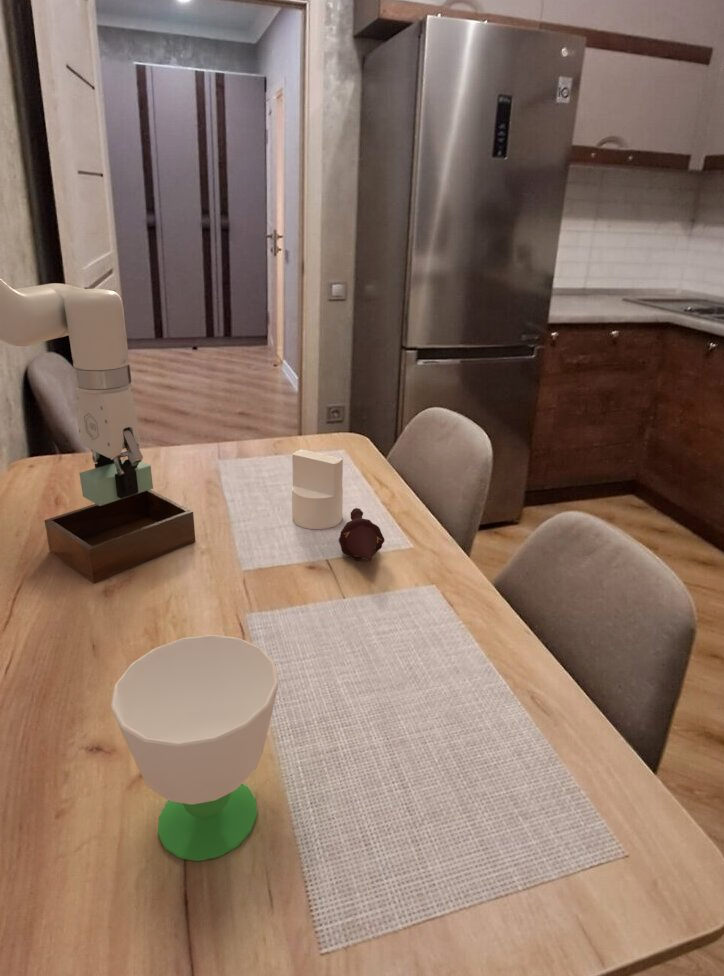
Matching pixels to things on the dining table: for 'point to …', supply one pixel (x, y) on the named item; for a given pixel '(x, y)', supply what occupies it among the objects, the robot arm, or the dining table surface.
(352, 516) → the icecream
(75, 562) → the box
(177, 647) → the cup
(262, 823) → the dining table surface
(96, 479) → the block
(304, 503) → the base with upright slab
